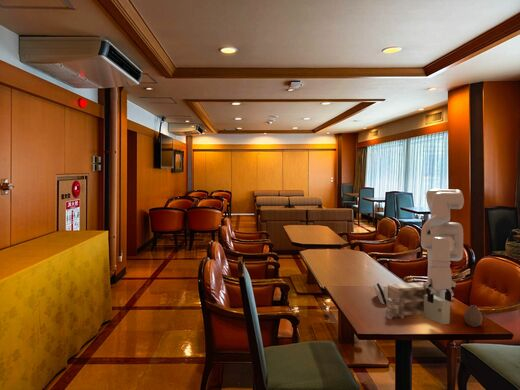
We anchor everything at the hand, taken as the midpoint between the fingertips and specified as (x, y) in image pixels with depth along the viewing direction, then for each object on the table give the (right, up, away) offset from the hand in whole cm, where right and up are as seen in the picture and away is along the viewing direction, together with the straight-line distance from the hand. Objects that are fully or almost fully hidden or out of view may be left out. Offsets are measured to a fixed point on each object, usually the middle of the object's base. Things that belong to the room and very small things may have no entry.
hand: (439, 301), depth 174 cm
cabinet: (-11, -8, +10) cm, 17 cm away
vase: (+13, -10, -4) cm, 17 cm away
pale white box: (0, -9, +2) cm, 9 cm away
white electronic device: (-16, -8, +31) cm, 36 cm away
